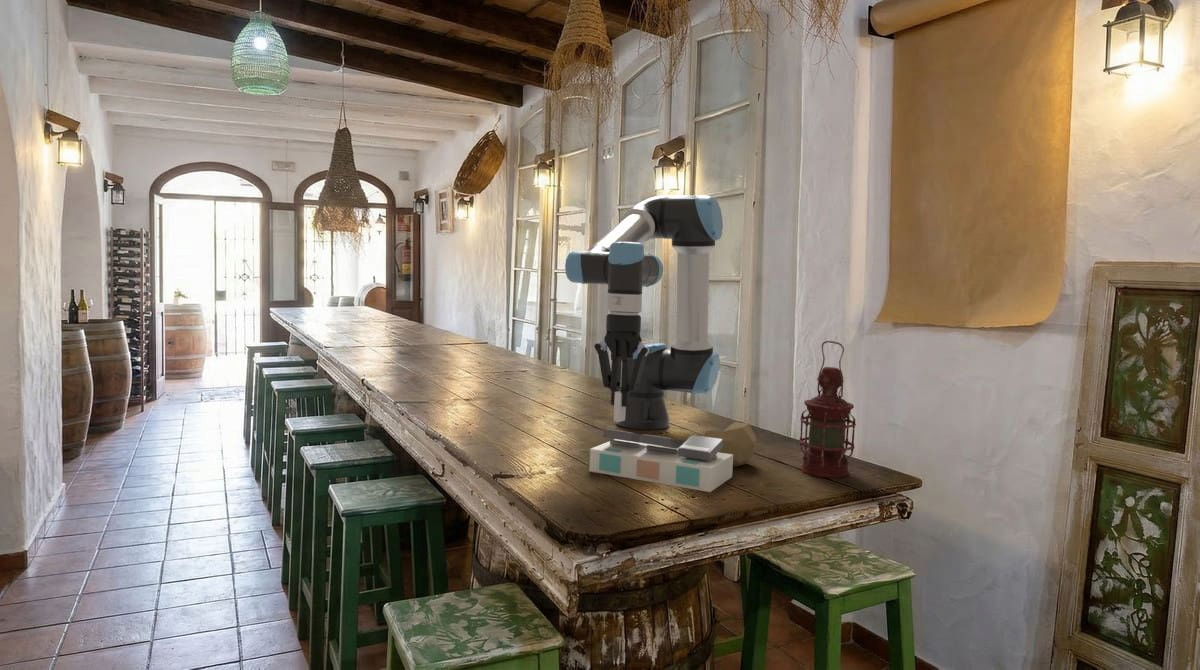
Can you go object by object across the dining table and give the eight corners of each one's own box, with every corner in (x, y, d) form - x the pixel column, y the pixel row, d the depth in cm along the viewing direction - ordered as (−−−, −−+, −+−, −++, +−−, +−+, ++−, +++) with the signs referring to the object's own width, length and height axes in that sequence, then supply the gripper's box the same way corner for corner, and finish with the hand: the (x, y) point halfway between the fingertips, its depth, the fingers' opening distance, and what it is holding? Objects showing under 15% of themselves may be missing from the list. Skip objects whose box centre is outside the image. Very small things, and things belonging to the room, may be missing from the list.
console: (617, 458, 188) (618, 433, 187) (732, 477, 175) (733, 450, 175) (588, 471, 175) (589, 444, 175) (709, 492, 163) (711, 463, 162)
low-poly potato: (757, 461, 192) (719, 433, 197) (774, 428, 186) (734, 400, 191) (724, 489, 181) (685, 459, 186) (740, 455, 175) (699, 425, 180)
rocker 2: (692, 442, 176) (692, 434, 175) (722, 447, 173) (722, 438, 172) (678, 456, 169) (678, 447, 169) (709, 460, 166) (709, 452, 165)
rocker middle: (653, 444, 180) (655, 436, 180) (682, 449, 177) (684, 440, 177) (639, 442, 173) (640, 433, 173) (669, 447, 169) (670, 437, 170)
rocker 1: (618, 439, 184) (619, 431, 184) (645, 443, 181) (646, 435, 181) (602, 437, 177) (604, 428, 177) (631, 441, 174) (632, 432, 174)
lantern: (786, 466, 186) (794, 338, 183) (829, 463, 190) (837, 338, 188) (819, 480, 175) (827, 344, 172) (864, 477, 179) (873, 344, 176)
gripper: (589, 312, 173) (585, 419, 175) (644, 315, 167) (639, 427, 169) (605, 311, 180) (601, 414, 182) (658, 314, 174) (653, 421, 176)
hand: (619, 420), depth 176 cm, fingers closed
